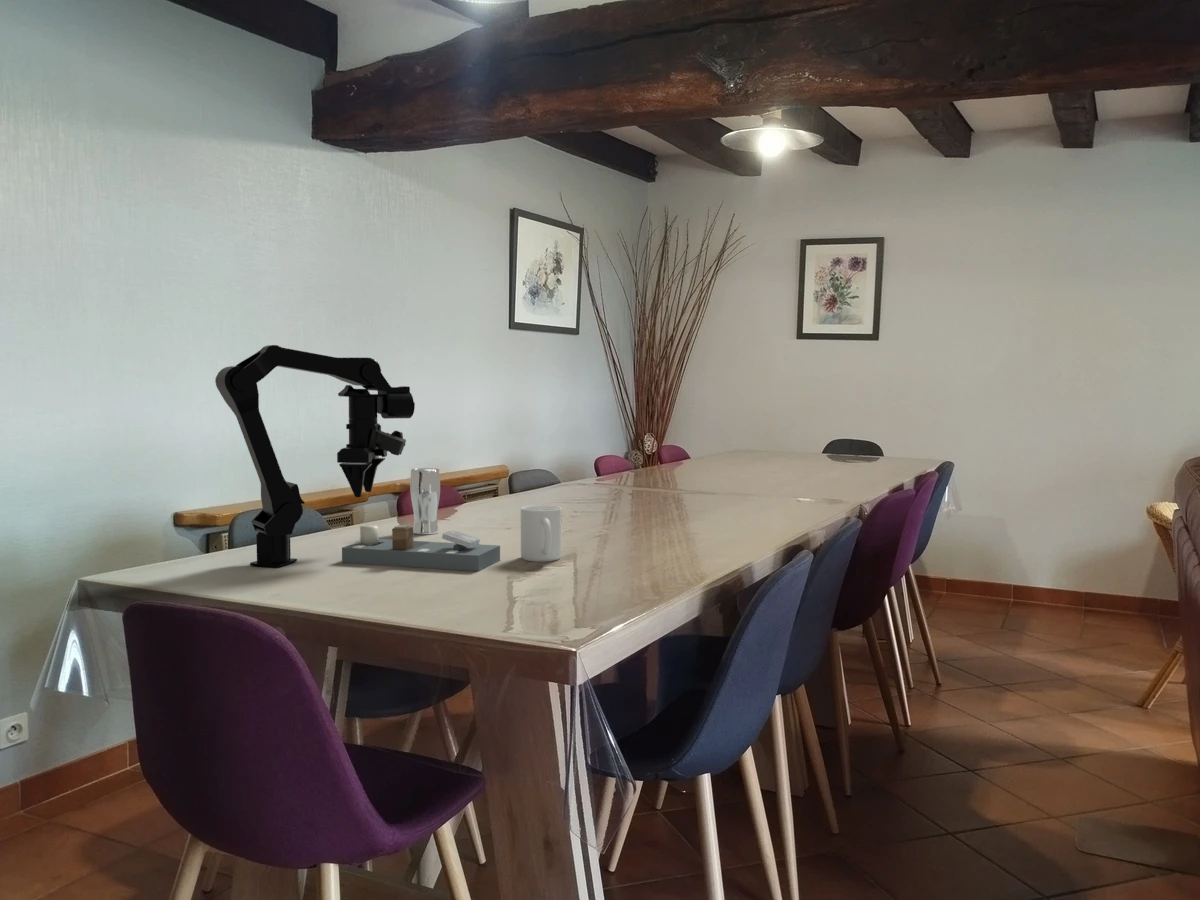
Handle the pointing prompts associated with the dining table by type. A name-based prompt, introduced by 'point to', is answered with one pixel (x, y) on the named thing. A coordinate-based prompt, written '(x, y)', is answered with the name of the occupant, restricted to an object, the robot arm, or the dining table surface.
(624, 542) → the dining table surface
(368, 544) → the white rounded cube
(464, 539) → the rocker paddle
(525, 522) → the mug
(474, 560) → the console
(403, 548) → the slider knob
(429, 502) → the beer glass
